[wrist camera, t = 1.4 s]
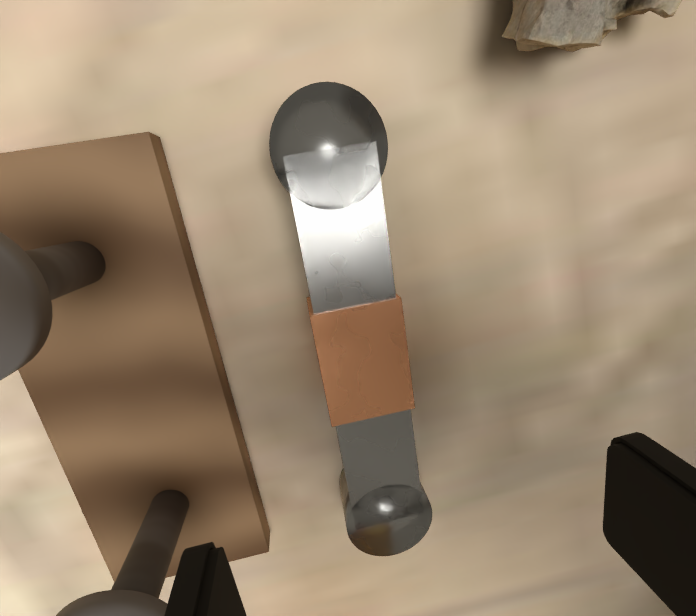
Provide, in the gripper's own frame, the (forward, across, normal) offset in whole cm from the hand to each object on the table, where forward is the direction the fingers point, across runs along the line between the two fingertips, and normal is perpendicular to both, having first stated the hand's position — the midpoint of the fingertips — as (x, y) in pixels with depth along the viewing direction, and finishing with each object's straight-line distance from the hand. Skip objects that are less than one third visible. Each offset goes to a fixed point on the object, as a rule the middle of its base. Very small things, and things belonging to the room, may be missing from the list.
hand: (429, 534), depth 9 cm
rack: (+14, +11, 0) cm, 18 cm away
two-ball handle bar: (+14, -1, 0) cm, 14 cm away
